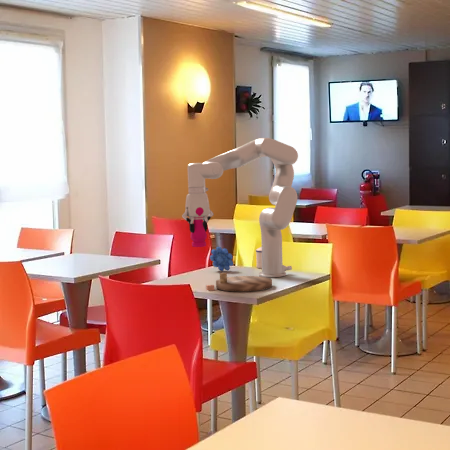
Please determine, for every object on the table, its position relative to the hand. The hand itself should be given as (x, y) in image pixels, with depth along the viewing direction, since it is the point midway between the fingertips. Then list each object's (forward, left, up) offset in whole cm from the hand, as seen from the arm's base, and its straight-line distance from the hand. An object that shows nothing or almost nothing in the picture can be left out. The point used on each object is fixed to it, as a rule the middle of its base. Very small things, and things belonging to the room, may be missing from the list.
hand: (198, 231), depth 353 cm
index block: (+4, +18, -23) cm, 30 cm away
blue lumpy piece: (-22, -25, -23) cm, 41 cm away
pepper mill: (0, 0, -7) cm, 7 cm away
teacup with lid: (-46, -24, -23) cm, 57 cm away
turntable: (-11, +21, -23) cm, 33 cm away
